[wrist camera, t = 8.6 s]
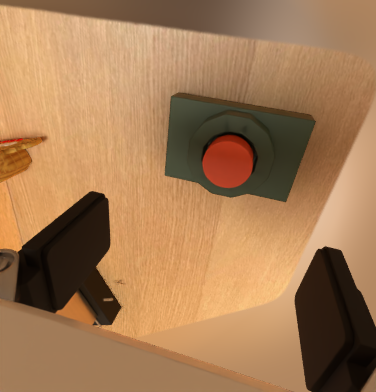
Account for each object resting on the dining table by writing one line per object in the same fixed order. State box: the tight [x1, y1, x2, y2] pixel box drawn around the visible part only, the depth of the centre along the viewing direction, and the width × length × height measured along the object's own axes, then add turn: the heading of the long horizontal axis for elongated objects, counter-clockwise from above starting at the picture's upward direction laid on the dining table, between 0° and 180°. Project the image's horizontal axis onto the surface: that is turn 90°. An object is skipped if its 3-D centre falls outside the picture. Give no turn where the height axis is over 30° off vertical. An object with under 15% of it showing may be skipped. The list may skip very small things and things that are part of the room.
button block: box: [165, 93, 316, 202], centre depth 21 cm, size 11×7×4 cm, turn 83°
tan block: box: [55, 289, 98, 325], centre depth 33 cm, size 6×2×5 cm, turn 21°
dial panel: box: [79, 268, 121, 327], centre depth 38 cm, size 21×10×3 cm, turn 111°
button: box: [202, 135, 253, 188], centre depth 19 cm, size 4×4×2 cm
